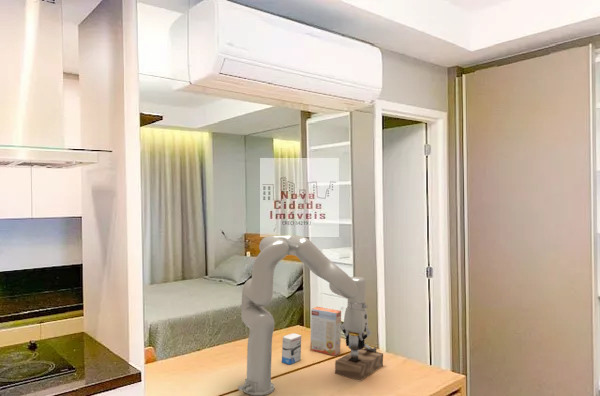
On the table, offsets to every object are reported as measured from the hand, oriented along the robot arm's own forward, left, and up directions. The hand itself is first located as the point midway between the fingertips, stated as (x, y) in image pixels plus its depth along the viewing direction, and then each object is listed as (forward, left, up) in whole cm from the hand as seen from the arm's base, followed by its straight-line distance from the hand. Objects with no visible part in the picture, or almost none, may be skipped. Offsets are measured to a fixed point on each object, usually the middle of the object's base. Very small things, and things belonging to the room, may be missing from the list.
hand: (354, 346), depth 199 cm
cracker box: (+14, +24, -12) cm, 30 cm away
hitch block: (+5, 0, -11) cm, 13 cm away
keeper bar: (+11, 0, -4) cm, 12 cm away
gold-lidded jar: (0, 0, -5) cm, 5 cm away
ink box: (-7, +29, -12) cm, 32 cm away
